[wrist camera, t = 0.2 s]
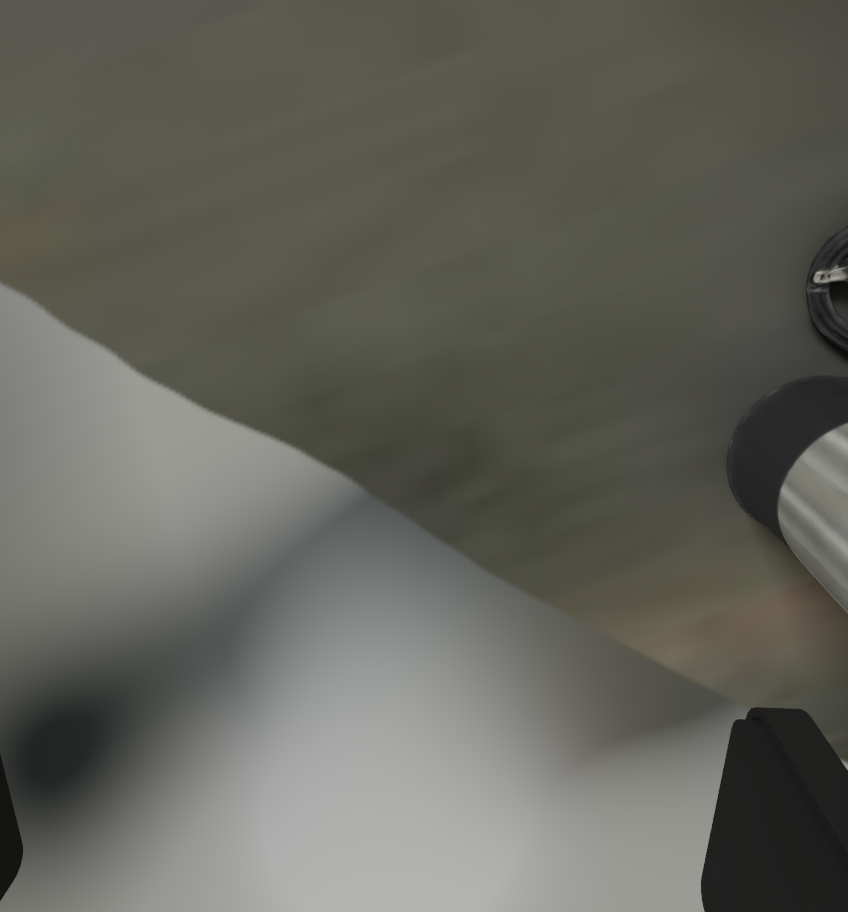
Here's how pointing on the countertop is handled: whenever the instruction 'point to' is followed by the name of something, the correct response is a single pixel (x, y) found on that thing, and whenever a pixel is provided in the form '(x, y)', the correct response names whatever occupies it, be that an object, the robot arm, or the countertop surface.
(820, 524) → the milk frother
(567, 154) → the countertop surface
